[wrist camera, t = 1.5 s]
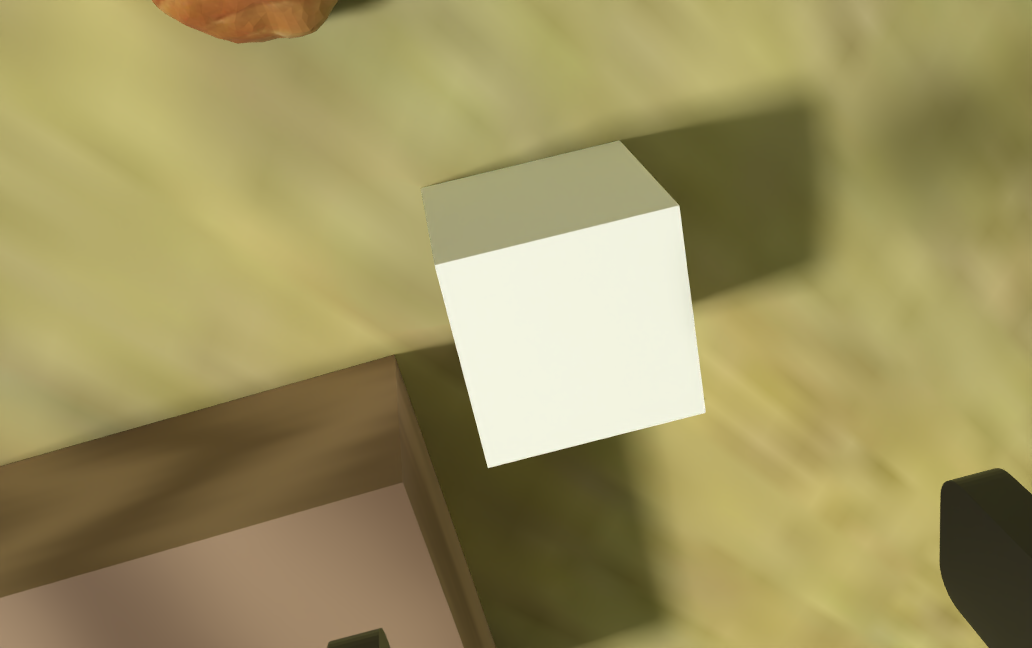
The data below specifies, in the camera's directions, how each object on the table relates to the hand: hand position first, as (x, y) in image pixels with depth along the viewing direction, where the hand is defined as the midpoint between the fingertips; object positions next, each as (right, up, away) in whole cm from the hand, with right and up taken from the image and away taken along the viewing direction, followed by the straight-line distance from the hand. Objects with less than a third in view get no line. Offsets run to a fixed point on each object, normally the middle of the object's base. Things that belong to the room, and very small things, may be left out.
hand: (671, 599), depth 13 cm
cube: (-2, +6, +11) cm, 13 cm away
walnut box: (-10, -4, +15) cm, 18 cm away
